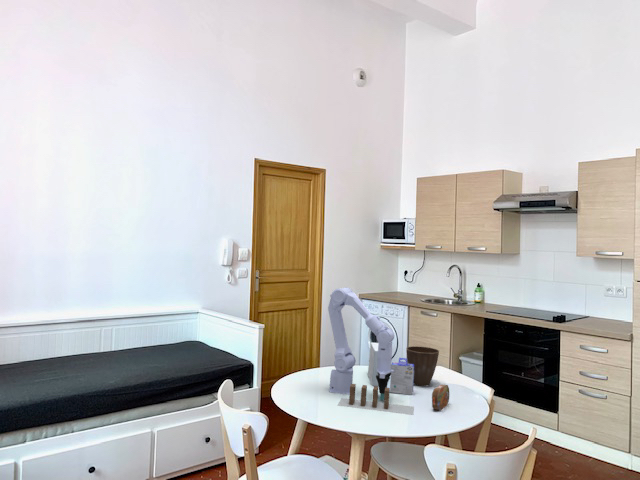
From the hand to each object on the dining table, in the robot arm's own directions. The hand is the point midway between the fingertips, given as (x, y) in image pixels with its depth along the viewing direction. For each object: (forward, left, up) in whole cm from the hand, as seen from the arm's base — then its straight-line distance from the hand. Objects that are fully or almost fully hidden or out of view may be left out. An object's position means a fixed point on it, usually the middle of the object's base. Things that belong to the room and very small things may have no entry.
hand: (382, 391), depth 202 cm
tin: (+23, -2, -3) cm, 23 cm away
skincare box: (-6, +28, -3) cm, 29 cm away
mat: (-1, -11, -3) cm, 12 cm away
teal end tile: (0, 0, -3) cm, 3 cm away
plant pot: (+15, +30, -3) cm, 34 cm away
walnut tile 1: (-11, -11, -3) cm, 16 cm away
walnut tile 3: (-2, -11, -3) cm, 12 cm away
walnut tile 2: (-6, -11, -3) cm, 13 cm away
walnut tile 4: (+3, -11, -3) cm, 12 cm away
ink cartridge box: (+7, +13, -3) cm, 15 cm away
